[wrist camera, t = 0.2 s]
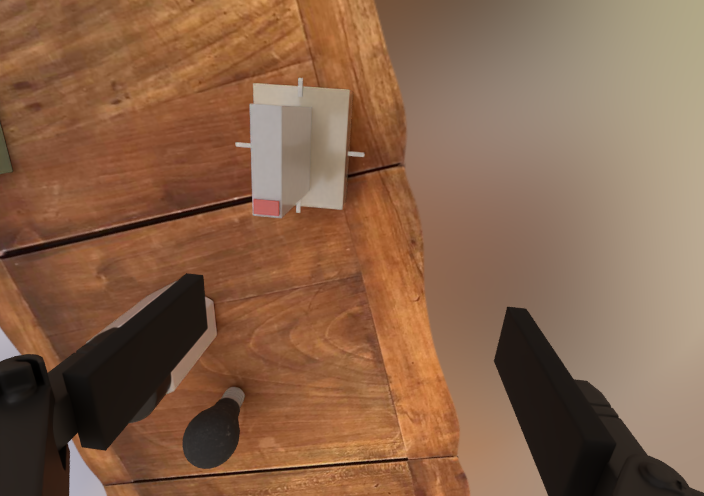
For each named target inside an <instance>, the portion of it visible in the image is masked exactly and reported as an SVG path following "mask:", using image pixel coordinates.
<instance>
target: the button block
mask: <svg viewBox="0 0 704 496" xmlns="http://www.w3.org/2000/svg"><path fill="white" fill-rule="evenodd" d="M9 172H13V170H12V166H11V162H10V159H9V155H8V151H7V147H6V143H5V139H4V135H3V131H2V128H1V124H0V174H3V173H9Z"/></svg>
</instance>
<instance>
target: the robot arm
mask: <svg viewBox="0 0 704 496" xmlns="http://www.w3.org/2000/svg"><path fill="white" fill-rule="evenodd" d="M207 329H208V324H207V313H206V301H205V290H204V279H203V275H196V274H187V273H186V274H185V275H184V276H183V277H182V278H180V279H179V280H178V281H177V282H175V283H174V284H173V285H172V286H170V287H169V288H168V289H167V290H165V291H164V292H163V293H162V294H160V295H159V296H158V297H157V298H155V299H154V300H153V301H152V302H150V303H149V304H148V305H147V306H145V307H144V308H143V309H142V310H140V311H139V312H138V313H137V314H135V315H134V316H133V317H132V318H130V319H129V320H128V321H127V322H125V323H124V324H123V325H122V326H120V327H119V328H118V327H113V328H111V329H108V330H106V331H104V332H102V333H100V334H98V335H97V336H95V337H94V338H93V339H91V340H90V341H89V342H87V343H86V345H84V346H82V347H81V348H80V349H78V350H77V351H76V353H73V354H72V355H71V356H69V357H68V358H67V359H65V360H64V361H63V362H61V363H60V364H59V365H57V366H56V367H55V368H54V369H52V370H51V371H50V372H48V373H47V370H46V366H45V363H44V360H43V357H41V356H39V355H34V354H26V355H20V356H15V357H12V358H9V359H5V360H3V361H1V362H0V496H69V472H70V466H69V465H70V450H69V447H68V442H69V441H70V440H71V439H72V438H73V437H74V436H75V435H76V434H77V433H78V435H79V438H80V442H81V446H82V447H84V448H91V449H98V450H105V451H106V450H107V448H108V447H109V446H110V445H111V444H112V442H113V441H114V440H115V439H116V438H117V437H118V435H119V434H120V433H121V432H122V431H123V429H124V428H125V427H126V426H127V425H128V423H129V422H130V421H131V420H132V419H133V417H134V416H135V415H136V414H137V413H138V411H139V410H140V409H141V408H142V407H143V405H144V404H145V403H146V402H147V401H148V400H149V398H150V397H151V396H152V395H153V394H154V392H155V391H156V390H157V389H158V388H159V386H160V385H161V384H162V383H163V382H164V380H165V379H166V378H167V377H168V376H169V374H170V373H171V372H172V371H173V370H174V368H175V367H176V366H177V365H178V364H179V362H180V361H181V360H182V359H183V358H184V357H185V355H186V354H187V353H188V352H189V351H190V349H191V348H192V347H193V346H194V345H195V343H196V342H197V341H198V340H199V339H200V337H201V336H202V335H203V334H204V333H205V331H206V330H207ZM494 362H495V365H496V367H497V370H498V372H499V375H500V377H501V380H502V382H503V385H504V387H505V390H506V392H507V395H508V397H509V400H510V402H511V404H512V407H513V409H514V411H515V414H516V417H517V419H518V422H519V424H520V426H521V429H522V432H523V434H524V437H525V439H526V442H527V444H528V446H529V449H530V451H531V454H532V456H533V459H534V461H535V464H536V466H537V469H538V471H539V474H540V476H541V479H542V481H543V484H544V486H545V489H546V491H547V494H548V496H704V493H703V492H700V491H697V490H695V489H692V488H690V487H689V486H688V484H687V483H686V481H685V480H684V478H683V477H682V476H681V475H679V474H678V473H677V472H676V471H675V470H674V469H673V468H671V467H670V466H668V465H667V464H665V463H664V462H662V461H660V460H658V459H655V458H653V457H651V456H648V455H647V454H646V452H645V451H644V450H643V448H642V447H641V446H640V444H639V443H638V442H637V440H636V439H635V437H634V436H633V435H632V433H631V432H630V431H629V429H628V428H627V427H626V425H625V424H624V423H623V421H622V420H621V419H620V418H618V414H617V413H616V412H615V410H614V409H613V408H611V405H610V404H609V402H608V401H607V400H606V398H605V397H604V395H603V394H602V393H601V392H600V391H599V390H598V389H596V388H595V387H594V386H593V385H591V384H590V383H589V382H588V381H583V380H574V379H573V378H572V376H571V375H570V373H569V372H568V370H567V369H566V368H565V366H564V364H563V363H562V361H561V360H560V358H559V357H558V355H557V354H556V352H555V351H554V349H553V348H552V346H551V345H550V343H549V342H548V341H547V339H546V338H545V336H544V334H543V333H542V332H541V330H540V329H539V327H538V326H537V324H536V323H535V321H534V320H533V318H532V317H531V315H530V314H529V312H528V311H527V309H524V308H515V307H507V310H506V314H505V319H504V322H503V327H502V330H501V335H500V339H499V343H498V347H497V351H496V355H495V359H494Z"/></svg>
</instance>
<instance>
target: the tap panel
mask: <svg viewBox="0 0 704 496" xmlns="http://www.w3.org/2000/svg"><path fill="white" fill-rule="evenodd" d="M253 102H254V104H273V105H294V106H307V107H312V127H311V164H310V191H309V192H308V193H307V194H306V195H305V196H304V197H303V198H302V199H301V200H300V201H299V202H298V203H297V204H296V205H295V206H296V213H300V212H301V206H306V207H317V208H328V209H339V210H342V209H343V207H344V205H345V203H346V196H347V180H348V165H349V156H357V157H364V154H365V153H363V152H351V151H349V149H350V133H351V117H352V102H353V91H351V90H347V89H333V88H318V87H304V86H303V78H298V86H290V85H275V84H261V83H253ZM236 147H247V148H251V143H240V142H236Z"/></svg>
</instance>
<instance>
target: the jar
mask: <svg viewBox="0 0 704 496" xmlns="http://www.w3.org/2000/svg"><path fill="white" fill-rule="evenodd" d="M175 282H177V281H175ZM175 282H173V283H171V284H169V285H167V286H165V287H164V288H162V289H160V290H158V291H156V292H154V293H152V294H150V295H148V296H146V297H145V298H144V299H143V300H141V301H140V302H139V303H137V304H136V305H135V306H133V307H132V308H131V309H129V310H128V311H127V312H126V313H124V314H123V315H122V316H120V317H119V318H118V319H116V320H115V321H114V322H112V323H111V324H110V325H109V326H107V327H106V328H105V329H103V330H102V331H101V332H99V333H98V334H100V333H102V332H104V331H106V330H108V329H111V328H113V327H118V328H119V327H120V326H122V325H123V324H124V323H125V322H127V321H128V320H129V319H130V318H132V317H133V316H134V315H135V314H137V313H138V312H139V311H140V310H142V309H143V308H144V307H145V306H147V305H148V304H149V303H150V302H152V301H153V300H154V299H155V298H157V297H158V296H159V295H160V294H162V293H163V292H164V291H165V290H167V289H168V288H169V287H170V286H172V285H173V284H174V283H175ZM205 301H206V313H207V324H208V329H207V330H206V331H205V333H204V334H203V335H202V336H201V337H200V339H199V340H198V341H197V342H196V343H195V345H194V346H193V347H192V348H191V349H190V351H189V352H188V353H187V354H186V355H185V357H184V358H183V359H182V360H181V361H180V362H179V364H178V365H177V366H176V367H175V368H174V370H173V371H172V372H171V373H170V374H169V376H168V377H167V378H166V379H165V380H164V382H163V383H162V384H161V385H160V386H159V388H158V389H157V390H156V391H155V392H154V394H153V395H152V396H151V397H150V398H149V400H148V401H147V402H146V403H145V404H144V405H143V407H142V408H141V409H140V410H139V411H138V413H137V414H136V415H135V416H134V417H133V419H132V420H131V421H130V422H129V423H133V422H137V421H140V420H142V419H144V418H146V417H147V416H148V415H150V414H151V412H152V411H153V410H154V409H155V407H156V406H157V405H158V404H159V402H160V401H161V400H162V399H163V397H164V396H165V395H166V394H168V393H170V392H173V391H174V390H175V389H176V388H177V387H178V385H179V384H180V383H181V381H182V380H183V379H184V378H185V376H186V375H187V374H188V372H189V371H190V370H191V368H192V367H193V366H194V365H195V363H196V362H197V361H198V359H199V358H200V357H201V355H202V354H203V353H204V352H205V350H206V349H207V348H208V346H209V345H210V344H211V343H212V341H213V340H214V339H215V337H216V336H217V329H216V320H215V311H214V303H213V301H212V300H211V299H209V298H207V297H205ZM98 334H97V335H98ZM97 335H95V336H97ZM95 336H94V337H95ZM94 337H93V338H94ZM93 338H92V339H93ZM90 340H91V339H90ZM90 340H89V341H90ZM89 341H88V342H89ZM85 345H86V344H85Z"/></svg>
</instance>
